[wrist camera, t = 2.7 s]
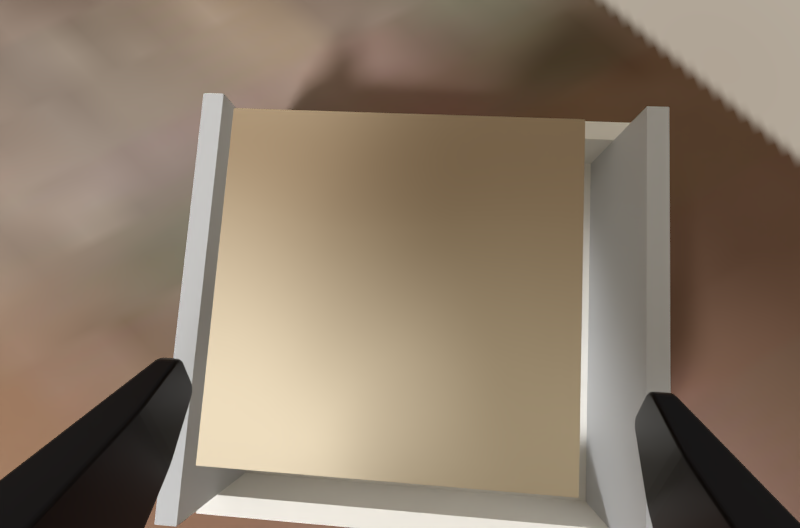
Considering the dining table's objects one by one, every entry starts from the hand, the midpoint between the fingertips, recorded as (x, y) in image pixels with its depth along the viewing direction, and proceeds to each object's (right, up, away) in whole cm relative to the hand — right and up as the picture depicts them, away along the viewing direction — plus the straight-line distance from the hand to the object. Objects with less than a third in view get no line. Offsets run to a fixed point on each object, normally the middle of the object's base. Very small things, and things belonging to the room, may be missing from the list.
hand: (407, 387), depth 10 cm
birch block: (+1, 0, +9) cm, 9 cm away
